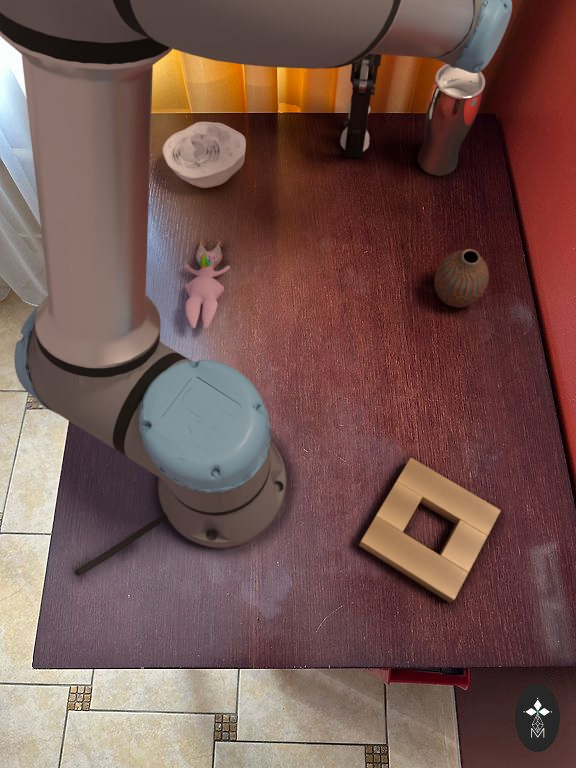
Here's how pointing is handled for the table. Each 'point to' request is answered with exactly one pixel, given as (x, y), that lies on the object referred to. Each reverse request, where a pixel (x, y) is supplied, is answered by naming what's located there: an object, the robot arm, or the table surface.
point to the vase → (461, 278)
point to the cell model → (205, 153)
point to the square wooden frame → (412, 556)
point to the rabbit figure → (204, 286)
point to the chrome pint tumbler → (449, 118)
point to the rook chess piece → (344, 134)
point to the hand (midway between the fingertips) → (354, 142)
